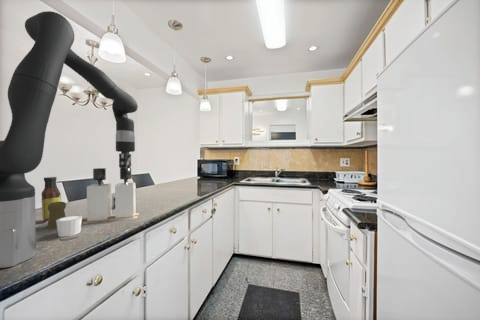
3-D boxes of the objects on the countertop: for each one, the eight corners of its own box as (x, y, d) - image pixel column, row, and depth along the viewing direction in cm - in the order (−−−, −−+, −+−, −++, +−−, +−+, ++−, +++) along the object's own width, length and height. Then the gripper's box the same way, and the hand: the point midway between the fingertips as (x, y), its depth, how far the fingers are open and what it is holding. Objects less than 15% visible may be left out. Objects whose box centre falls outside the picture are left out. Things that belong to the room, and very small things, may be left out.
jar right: (133, 217, 85) (133, 184, 84) (115, 219, 82) (115, 185, 82) (135, 213, 91) (135, 182, 91) (118, 214, 88) (118, 183, 88)
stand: (136, 221, 84) (136, 218, 84) (81, 227, 76) (81, 224, 76) (139, 215, 93) (139, 212, 93) (90, 220, 86) (90, 216, 86)
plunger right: (131, 213, 85) (130, 168, 85) (118, 214, 83) (118, 168, 83) (133, 210, 90) (132, 167, 90) (120, 211, 88) (120, 167, 88)
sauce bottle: (65, 218, 88) (65, 176, 88) (50, 223, 82) (50, 177, 81) (53, 218, 89) (52, 176, 88) (37, 222, 82) (36, 177, 82)
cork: (66, 225, 78) (65, 199, 78) (68, 229, 75) (68, 201, 75) (45, 230, 74) (45, 202, 74) (47, 234, 70) (46, 204, 70)
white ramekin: (63, 243, 63) (63, 222, 63) (51, 239, 65) (51, 219, 65) (86, 235, 69) (86, 216, 69) (75, 232, 71) (74, 214, 71)
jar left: (107, 220, 81) (106, 185, 81) (87, 222, 78) (86, 186, 78) (111, 215, 87) (111, 183, 87) (93, 217, 85) (92, 184, 85)
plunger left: (105, 215, 81) (104, 168, 81) (90, 217, 80) (90, 169, 79) (108, 212, 86) (107, 168, 86) (95, 213, 84) (94, 168, 84)
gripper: (132, 140, 81) (132, 177, 81) (136, 142, 94) (137, 174, 94) (111, 139, 78) (112, 178, 78) (119, 142, 91) (119, 175, 92)
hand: (125, 176), depth 86 cm, fingers open, 8 cm apart
